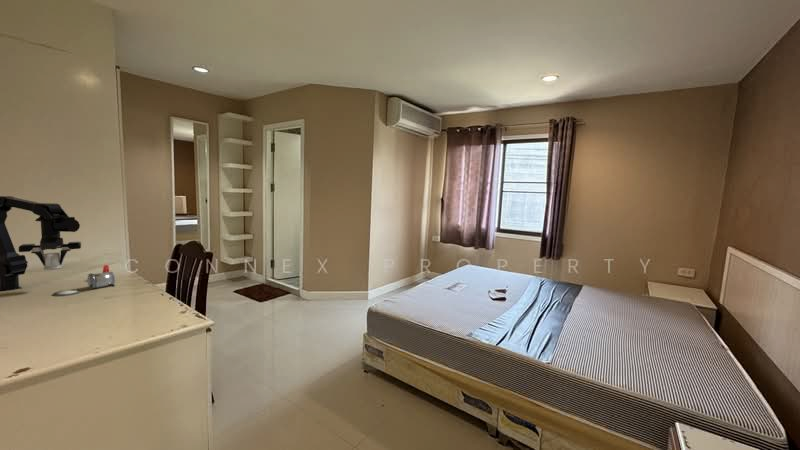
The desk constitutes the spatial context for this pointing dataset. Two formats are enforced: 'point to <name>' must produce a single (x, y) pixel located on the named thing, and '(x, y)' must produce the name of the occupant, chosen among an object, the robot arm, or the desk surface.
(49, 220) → the robot arm
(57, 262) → the white knob
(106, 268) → the bracket
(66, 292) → the flange
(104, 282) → the grey rounded block
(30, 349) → the desk surface
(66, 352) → the desk surface
